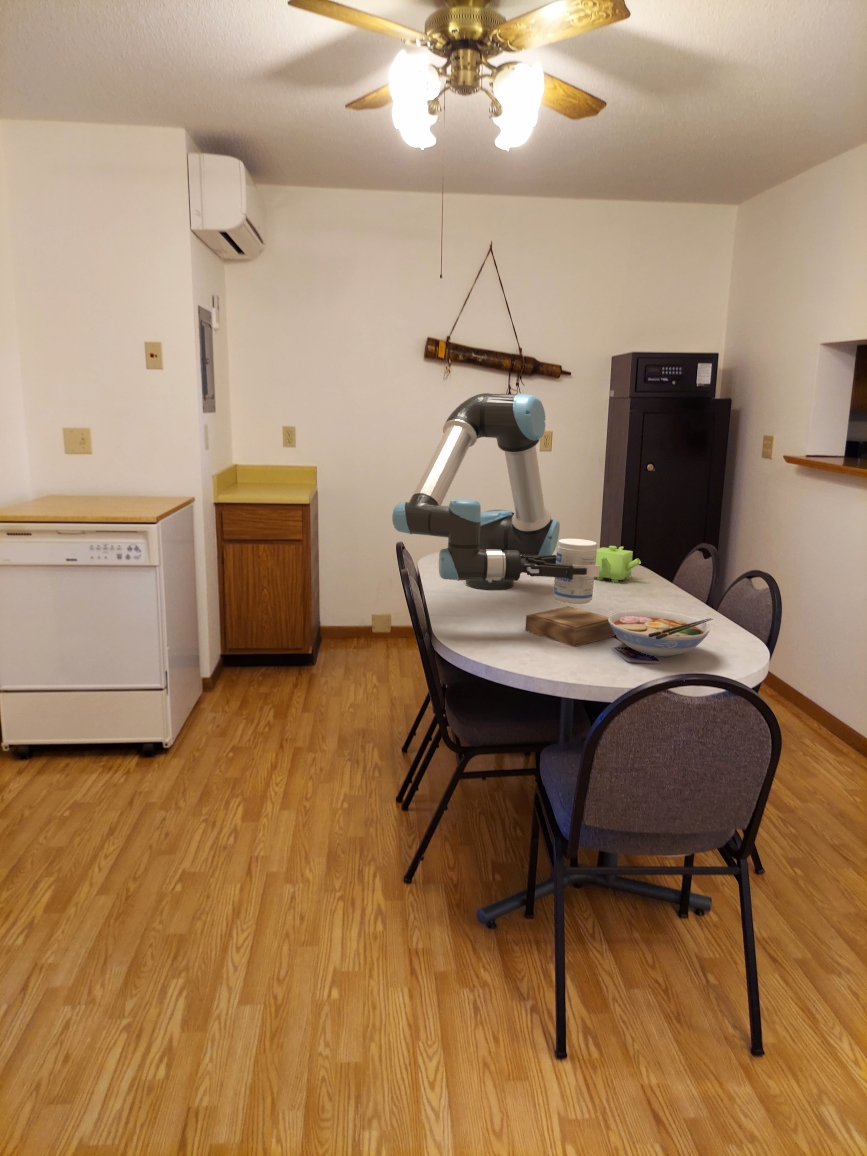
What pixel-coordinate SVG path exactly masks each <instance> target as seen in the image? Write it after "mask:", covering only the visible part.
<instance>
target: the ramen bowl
mask: <svg viewBox="0 0 867 1156" xmlns="http://www.w3.org/2000/svg"><path fill="white" fill-rule="evenodd" d="M608 617H609V619H608V621H609V624H610V626H611V628H612V630H613V632H614V633H615V635H616V638H617V639H618V640H619V641H621V642H622V643H623V644H624V645H626V646H627V647H628V648H630V649H632V650H634V651H637V652H639V653H640V652H641V653H640V654H642V653H643V654H642V655H644V654H646V655H645V656H647V655H650V656H649V657H651V656H654V657H653V658H660V657H661V658H669V657H672V656H675V655H680V654H681V655H682V654H685V653H687V652H690V651H691V650H692V649H695V648H696V647H697V646H698V645H699V644H700V643H702V642H703V641H704V639H705V638H706V637H707V636H708V634H709V633H710V631H711V627H710V624H708V623H707V622H710V621H712V620H714V618H711V617H710V618H709V617H708V618H706V619H700V618H697V617H693V616H690V615H687V614H682V613H678V612H677V613H675V612H672V611H664V610H653V609H627V610H621V611H616V612H614V613H612V614H609V615H608Z"/></svg>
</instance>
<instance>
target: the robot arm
mask: <svg viewBox="0 0 867 1156" xmlns="http://www.w3.org/2000/svg"><path fill="white" fill-rule="evenodd" d="M442 427H443V428H442V433H443V435H442V437H441V439H440V441H439V443H438V445H437V447H436V449H435V451H434V452H433V455H432V457H431V459H430V461H429V463H428V465H427V466H426V468H425V470H424V472H423V474H422V476H421V478H420V479H419V482H418V484H417V485H416V488H415V490H414V492H413V494H412V496H411V498H410V499H409V501H403V502H402V501H401V502H398V503H397V504H396V505H395V506H394V508H393V510H392V511H393V512H392V517H391V519H392V525H393V526H394V529H395V530H396V531H398V532H399V533H405V534H410V535H420V536H421V535H423V536H431V537H432V536H433V537H438V538H446V539H448V540H447V541H448V542H447V547H445V548H441V549H440V551H439V555H438V557H439V558H438V573H439V577H440V578H441V579H443V580H451V581H453V580H454V581H465V585H466V586H468V587H471V588H474V589H479V590H489V591H490V590H492V591H493V590H494V591H495V590H507V589H511V588H513V587H514V584H515V583H514V582H517V581H519V580H520V578H521V574H522V573H523V574H526V575H527V576H529V577H531V578H533V577H544V578H545V577H546V578H555V577H558V578H569V580H573V576H578V577H594V578H597V577H599V571H600V565H572V566H571V565H570V566H568V565H559V564H556V556H557V554H554V552H555V550H556V547H557V546H558V542H559V536H560V529H561V528H560V521H558V519H555V518H554V519H552V514H551V511H550V510H549V509H547V508H546V507H545V502H544V494H543V488H542V481H541V475H540V473H541V472H540V467H539V460H538V454H537V447H536V446H537V445H538V444H539V442H540V440H541V439H542V437H543V436H544V434H545V430H546V413H545V408H544V405H543V402H542V401H541V400H540V398H539V397H537V396H535V395H533V394H525V393H515V394H514V393H511V394H510V393H489V392H487V393H486V392H485V393H484V392H483V393H479V394H475V395H473V396H471V397H469V398H467V399H466V400H464V401H463V402H462V403H460V404H459V405H458V406H457V407H456V408H455V409H454V410H453V411H452V412H451V413H450V415H449V416H448V417H447V419H446V421H445V423H444V425H443V426H442ZM481 438H489V439H490V438H493V439H496V442H497V447H498V449H499V450H501V451H502V452H504V456H505V461H506V467H507V472H508V478H509V484H510V489H511V495H512V501H513V507H514V514H513V511H511V510H507V509H505V510H503V509H501V510H500V509H499V510H489V511H482V512H481V509H482V508H481V503H480V502H479V501H478V500H477V499H470V498H455V499H451V500H450V501H449V505H442V504H443V501H444V500H445V497H446V496H447V493H448V492H449V489H450V488H451V485H452V483H453V481H454V479H455V477H456V475H457V473H458V471H459V468H460V467H461V465H462V463H463V461H464V459H465V456H466V454H467V452H468V450H469V449H470V448H471V447H472V446H474V445H475V444H476V443H477V441H478V439H481Z"/></svg>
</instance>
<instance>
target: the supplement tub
mask: <svg viewBox="0 0 867 1156" xmlns="http://www.w3.org/2000/svg"><path fill="white" fill-rule="evenodd" d="M597 545H598V544H597V542H595V541H593V540H589V539H588V540H587V539H582V538H562V539H561V538H560V539H558V541H557V546H556V547H557V549H556V564H559V565H568V566H570V565H571V566H572V565H595V564H596V554H597V549H598V546H597ZM594 583H595V577H578V576H573V580H569V578H558V577H554V580H553V592H552V594H553V598H554V599H555V600H556V601H558V602H560V603H566V604H570V605H571V604H572V605H582V604H584V605H585V604H588V603H590V602H591V601H592V600H593V591H594Z"/></svg>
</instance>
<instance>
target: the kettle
mask: <svg viewBox="0 0 867 1156" xmlns="http://www.w3.org/2000/svg"><path fill="white" fill-rule="evenodd" d="M633 552H634V551H633V550H626V549H624V545H623V546H619V547H617V546H616V545H609V546H608V547H600V548H597V554H596V564H595V565H600V571H599V577H595V578H596V579H595V580H596V581H603V580H604V578H606V579H611V583H613V582H614V583H613V584H618V582H619V580H620V581H625V579H626V578H629V577H630V576H631V575H632V569H633V568H635V567H638V566H639V565H640V564H641V563H642V562H641V560H640V559H639V558H635V559H634V560H633V554H634V553H633Z"/></svg>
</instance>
